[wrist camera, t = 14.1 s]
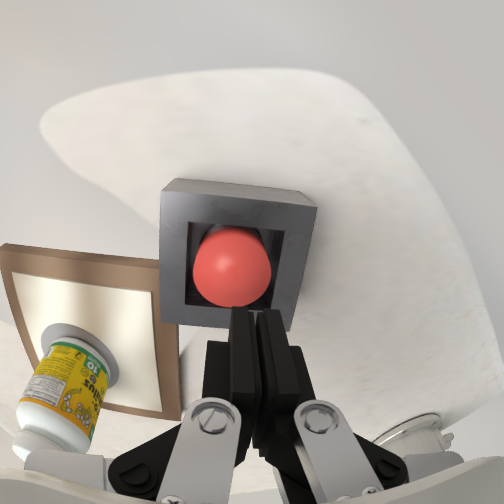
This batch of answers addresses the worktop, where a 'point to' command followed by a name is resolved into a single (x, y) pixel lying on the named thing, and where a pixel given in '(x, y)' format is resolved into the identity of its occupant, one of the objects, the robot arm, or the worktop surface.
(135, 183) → the worktop surface
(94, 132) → the worktop surface
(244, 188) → the button housing
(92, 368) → the supplement bottle
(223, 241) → the button
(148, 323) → the brown bordered square board
